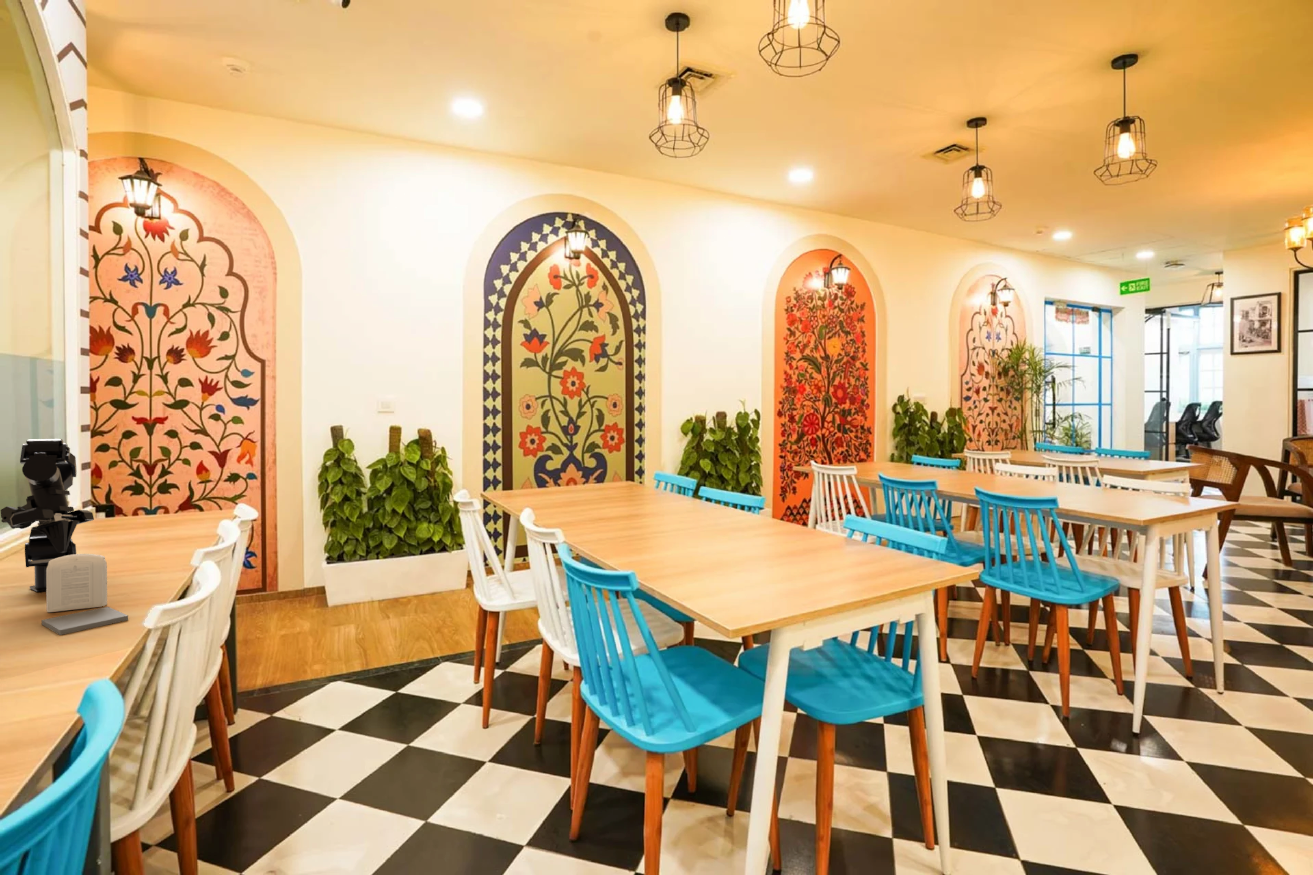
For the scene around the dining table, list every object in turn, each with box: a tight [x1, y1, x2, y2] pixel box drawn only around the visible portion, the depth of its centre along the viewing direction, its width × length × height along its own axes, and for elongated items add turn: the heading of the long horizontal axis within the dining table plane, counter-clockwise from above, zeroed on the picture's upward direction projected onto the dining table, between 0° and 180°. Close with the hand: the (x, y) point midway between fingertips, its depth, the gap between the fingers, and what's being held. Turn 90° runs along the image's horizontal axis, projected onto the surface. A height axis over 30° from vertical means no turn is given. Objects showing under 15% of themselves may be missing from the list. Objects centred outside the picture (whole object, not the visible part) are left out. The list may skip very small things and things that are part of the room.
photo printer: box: [45, 553, 108, 613], centre depth 142 cm, size 10×4×12 cm, turn 123°
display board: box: [41, 606, 129, 636], centre depth 133 cm, size 11×11×1 cm
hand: (62, 552), depth 149 cm, fingers closed
